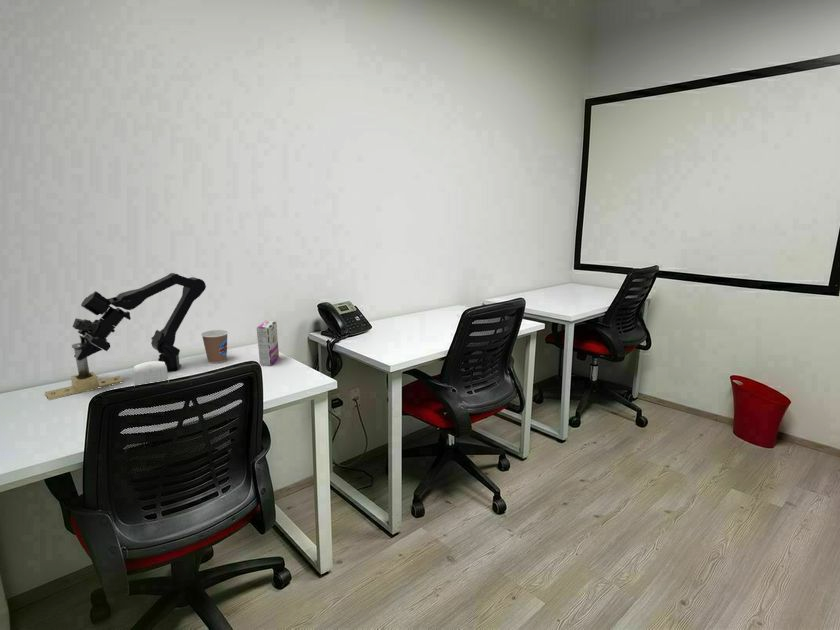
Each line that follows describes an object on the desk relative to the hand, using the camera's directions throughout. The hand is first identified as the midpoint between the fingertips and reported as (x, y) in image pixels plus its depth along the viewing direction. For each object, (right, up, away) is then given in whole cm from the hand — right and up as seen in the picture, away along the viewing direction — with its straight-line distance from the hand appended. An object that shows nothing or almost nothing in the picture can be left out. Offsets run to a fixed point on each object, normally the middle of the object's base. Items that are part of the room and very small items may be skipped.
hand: (76, 358), depth 169 cm
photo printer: (+28, -13, -3) cm, 31 cm away
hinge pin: (+1, -6, +3) cm, 7 cm away
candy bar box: (+57, -4, +33) cm, 66 cm away
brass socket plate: (+1, -11, +4) cm, 11 cm away
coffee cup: (+35, -4, +34) cm, 49 cm away
